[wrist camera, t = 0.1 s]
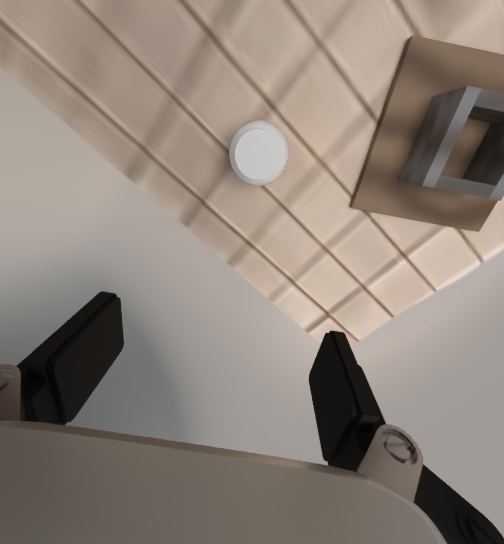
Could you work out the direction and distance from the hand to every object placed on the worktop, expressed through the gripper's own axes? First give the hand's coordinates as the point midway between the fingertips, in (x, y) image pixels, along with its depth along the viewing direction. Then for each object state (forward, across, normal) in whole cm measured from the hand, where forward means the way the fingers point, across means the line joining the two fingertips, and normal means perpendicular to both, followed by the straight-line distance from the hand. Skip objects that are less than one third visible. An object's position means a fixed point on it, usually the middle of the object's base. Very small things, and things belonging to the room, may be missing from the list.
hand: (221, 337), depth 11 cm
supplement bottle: (+31, 0, -7) cm, 32 cm away
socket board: (+31, -25, -12) cm, 42 cm away
